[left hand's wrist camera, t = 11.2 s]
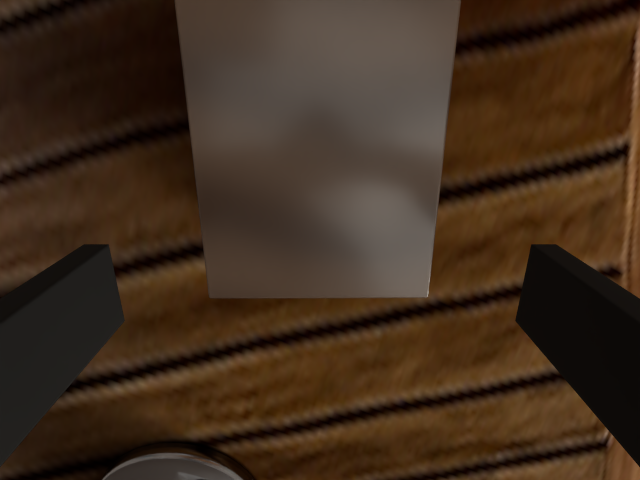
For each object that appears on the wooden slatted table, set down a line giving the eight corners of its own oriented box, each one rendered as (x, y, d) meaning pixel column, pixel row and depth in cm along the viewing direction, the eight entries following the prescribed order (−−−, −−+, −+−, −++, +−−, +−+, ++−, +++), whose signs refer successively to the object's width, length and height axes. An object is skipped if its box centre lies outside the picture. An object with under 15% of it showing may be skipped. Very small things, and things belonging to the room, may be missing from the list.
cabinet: (221, -87, 21) (147, -223, 12) (414, -88, 20) (486, -223, 12) (245, 230, 27) (208, 298, 18) (392, 230, 27) (428, 298, 18)
